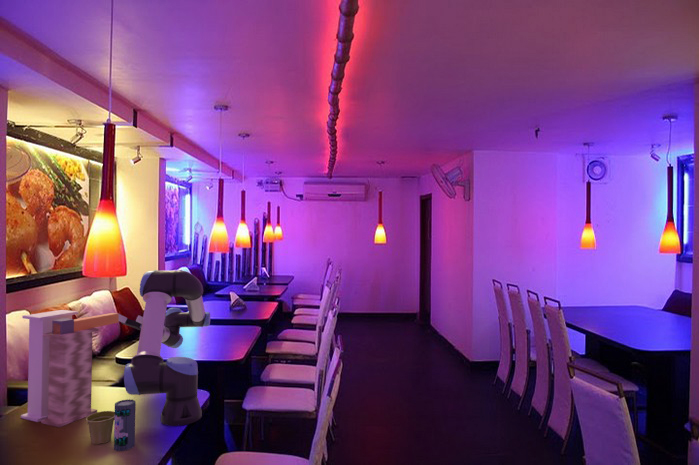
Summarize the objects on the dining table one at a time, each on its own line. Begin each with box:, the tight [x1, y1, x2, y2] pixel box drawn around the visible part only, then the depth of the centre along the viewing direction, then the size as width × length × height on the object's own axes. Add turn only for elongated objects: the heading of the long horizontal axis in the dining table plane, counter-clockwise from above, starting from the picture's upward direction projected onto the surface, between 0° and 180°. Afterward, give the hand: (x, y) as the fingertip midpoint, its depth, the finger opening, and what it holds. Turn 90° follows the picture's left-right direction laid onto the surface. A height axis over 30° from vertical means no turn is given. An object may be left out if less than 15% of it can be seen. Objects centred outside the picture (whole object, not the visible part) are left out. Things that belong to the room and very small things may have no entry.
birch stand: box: [40, 327, 100, 428], centre depth 178 cm, size 16×10×34 cm, turn 158°
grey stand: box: [20, 309, 79, 423], centre depth 182 cm, size 16×10×40 cm, turn 158°
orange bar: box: [52, 312, 120, 335], centre depth 184 cm, size 26×5×5 cm, turn 158°
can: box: [113, 398, 137, 452], centre depth 154 cm, size 6×6×15 cm
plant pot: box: [85, 410, 115, 445], centre depth 158 cm, size 9×9×9 cm
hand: (126, 316), depth 201 cm, fingers open, 13 cm apart
